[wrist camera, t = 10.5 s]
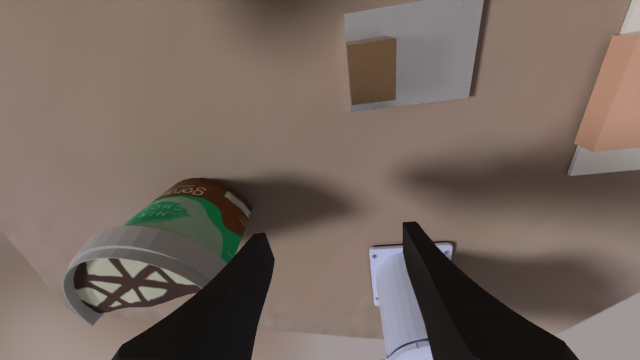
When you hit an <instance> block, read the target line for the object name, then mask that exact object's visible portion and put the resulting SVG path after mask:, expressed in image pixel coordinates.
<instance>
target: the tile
mask: <svg viewBox="0 0 640 360" xmlns="http://www.w3.org/2000/svg"><path fill="white" fill-rule="evenodd" d="M574 144H576V145H578V146H580V147H582V148H584V149H586V150H588V151H590V152H601V151H611V150H620V149H629V148H639V147H640V31H636V32H630V33H624V34H618V35H613V36H612V39H611V42H610V45H609V47H608V50H607V53H606V56H605V58H604V61H603V64H602V67H601V69H600V72H599V75H598V78H597V81H596V83H595V86H594V89H593V92H592V94H591V97H590V100H589V103H588V106H587V108H586V111H585V114H584V117H583V119H582V122H581V125H580V128H579V130H578V133H577V136H576V139H575V142H574Z"/></svg>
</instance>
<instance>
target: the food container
mask: <svg viewBox="0 0 640 360" xmlns="http://www.w3.org/2000/svg"><path fill="white" fill-rule="evenodd" d="M251 211H252V207H251V205H250V204H249V203H248V201H247V200H246V199H245V198H244V197H243V196H241V195H240V194H239V193H238V192H236V191H235V190H234V189H233V188H231V187H229V186H226V185H224V184H222V183H220V182H218V181H214V180H209V179H204V178H190V179H186V180H183V181H181V182H178V183H177V184H175V185H174V186H173V187H172V188H170V189H169V190H168V191H166V192H165V193H164V194H163V195H161V196H160V197H159V198H157V199H156V200H155V201H153V202H152V203H151V204H150V205H148V206H147V207H146V208H144V209H143V210H142V211H140V212H139V213H138V214H137V215H135V216H134V217H133V218H131V219H130V220H129V221H128V222H126V223H125V224H124V225H122V226H119V227H113V228H109V229H104V230H102V231H100V232H98V233H96V234H94V235H93V236H92V237H90V238H89V239H88V240H87V241H86V242H85V244H84V245H83V246H82V248H81V249H80V250H79V252H78V253H77V254H76V255H75V257H74V258H73V259H72V261H71V262H70V263H69V265H68V269H67V272H66V273H65V274H64V276H63V280H62V290H63V293H64V296H65V298H66V300H67V302H68V303H69V305H70V306H71V307H72V309H73V310H74V311H75V312H76V313H77V314H78V315H79V316H80V317H81V318H82V319H83V320H85V321H86V322H87V323H89V324H90V325H91V326H93V324H95V322H96V321H97V320H98V319H99V318H100V317H101V316H102V315H103V314H104V313H105V312H111V311H113V310H116V309H122V308H127V307H151V306H155V305H158V304H161V303H164V302H167V301H170V300H172V299H175V298H178V297H181V296H184V295H188V294H192V293H197V292H199V291H200V290H201V289H202V288H203V287H204V286H206V285H207V284H208V283H209V282H210V281H211V280H212V279H213V278H214V277H215V276H216V275H217V274H218V273H219V272H220V271H221V270H222V269H223V268H224V267H225V266H226V265H227V264H228V263H229V262H230V260H231V259H232V258H233V257H234V256H235V254H236V252H237V249H238V246H239V244H240V241H241V238H242V235H243V233H244V230H245V227H246V224H247V222H248V219H249V216H250V213H251Z"/></svg>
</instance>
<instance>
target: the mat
mask: <svg viewBox="0 0 640 360" xmlns="http://www.w3.org/2000/svg"><path fill="white" fill-rule="evenodd" d="M636 31H640V0H632V2H631V4H630V7H629V10H628V12H627V15H626V18H625V20H624V23H623V26H622V28H621V31H620V34H624V33H630V32H636ZM630 170H640V147H639V148H629V149H620V150H611V151H601V152H590V151H588V150H586V149H584V148H582V147H580V146H577V148H576V151H575V154H574V156H573V159H572V162H571V164H570V167H569V170H568V172H567V175H569V176H577V175H587V174H598V173H609V172H620V171H630Z"/></svg>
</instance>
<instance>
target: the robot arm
mask: <svg viewBox="0 0 640 360" xmlns="http://www.w3.org/2000/svg"><path fill="white" fill-rule="evenodd" d="M447 250H448V251H447ZM452 250H453V247H452V245H451V243H447V242H446V243H434V242H433V241H432V240H431V239H430V238H429V237H428V236H427V234H426V233H425V232H424V231H423V229H422V228H421V227H420V225H419V224H418V223H417V222H416V221H415V222H403V245H398V246H382V247H372V248H370V250H369V253H370V264H371V275H372V286H373V296H374V304H375V305H376V306H380V313H381V320H382V328H383V335H384V342H385V350H386V357H387V358H386V359H384V360H579V359H578V358H577V357H576V355H575V354H574V353H573V352H572V351H571V349H570V348H569V347H568V346H567V345H566V343H565V342H564V341H562V340H561V339H559V338H557V337H556V336H554V335H552V334H550V333H549V332H547V331H545V330H543V329H542V328H540V327H538V326H537V325H535V324H533V323H532V322H530V321H528V320H527V319H525V318H524V317H522V316H521V315H519V314H517V313H516V312H514V311H513V310H511V309H510V308H508V307H507V306H506V305H504V304H503V303H501V302H500V301H499V300H497V299H496V298H494V297H493V296H492V295H490V294H489V293H488V292H486V291H485V290H484V289H482V288H481V287H480V286H479V285H477V284H476V283H475V282H474V281H473V280H471V279H470V278H469V277H468V276H467V275H466V274H464V273H463V272H462V271H461V270H460V269H459V268H458V267H457V266H456V265H455V264H454V263H453V262H452V261H451V257H452ZM274 260H275V259H274V256H273V254H272V251H271V248H270V245H269V243H268V240H267V237H266V234H265V233H257V234H254V235H253V236H252V237H251V238H250V239H249V240H248V241H247V242H246V244H245V245H244V246H243V247H242V248H241V249H240V250H239V252H238V253H237V254H236V255H235V256H234V257H233V258H232V259H231V260H230V262H229V263H228V264H227V265H226V266H225V267H224V268H223V269H222V270H221V271H220V272H219V273H218V274H217V275H216V276H215V277H214V278H213V279H212V280H211V281H210V282H209V283H208V284H207V285H206V286H204V287H203V288H202V289H201V290H200V291H199V292H198V293H196V294H195V295H194V296H193V297H192V298H190V299H189V300H188V301H187V302H185V303H184V304H183V305H181V306H180V307H179V308H178V309H176V310H175V311H174V312H172V313H171V314H170V315H168V316H167V317H165V318H164V319H162V320H161V321H159V322H158V323H157V324H155V325H154V326H152V327H151V328H149V329H147V330H146V331H144V332H143V333H141V334H139V335H138V336H136V337H134V338H133V339H132V340H130V341H128V342H126V343H124V344H123V345H122V346H121V347H120V348H119V350H118V351H117V353H116V354H115V355H114V357H113V358H112V360H251V357H252V351H253V346H254V341H255V336H256V331H257V326H258V322H259V318H260V315H261V312H262V309H263V305H264V302H265V299H266V295H267V292H268V289H269V285H270V282H271V278H272V273H273V267H274Z"/></svg>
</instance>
